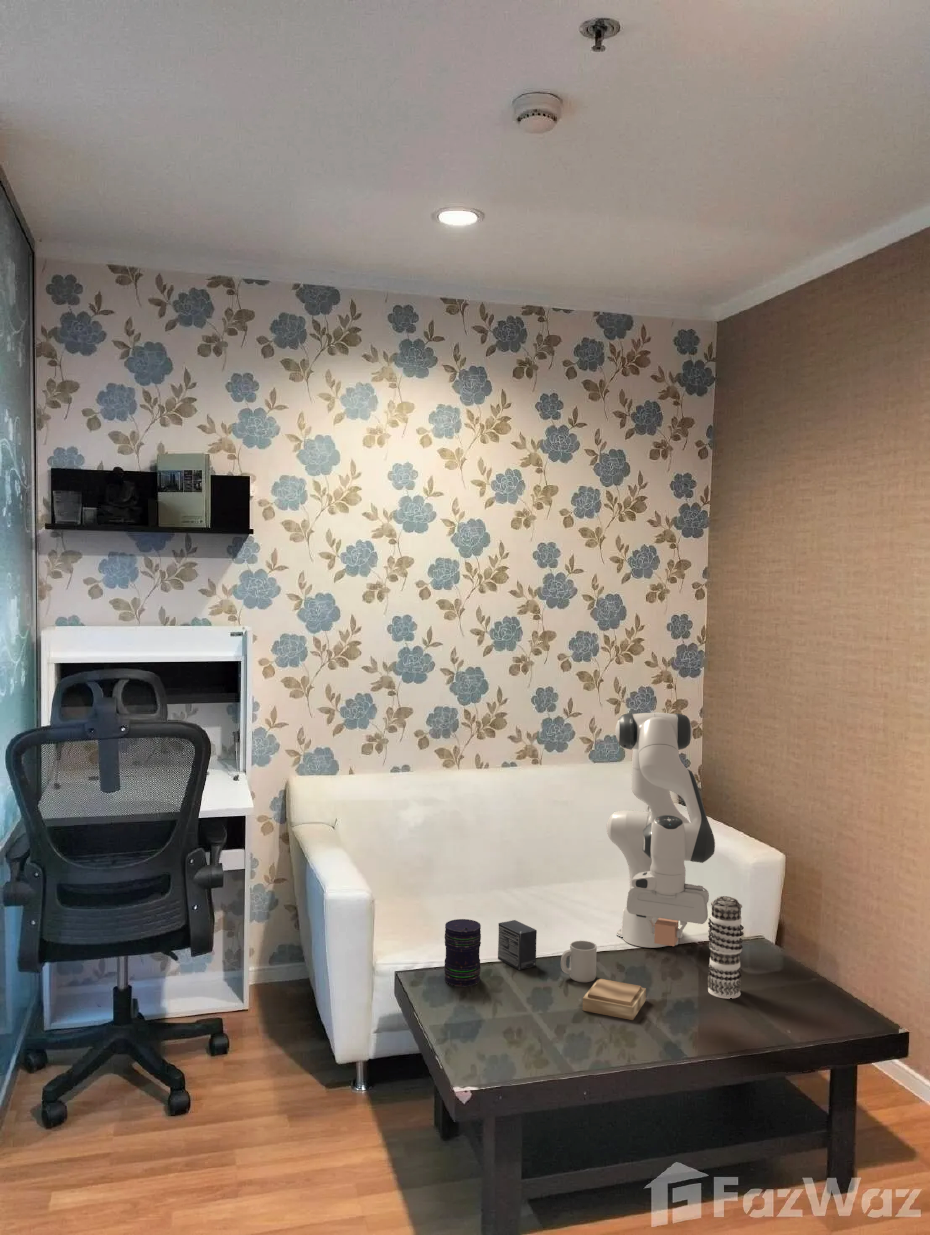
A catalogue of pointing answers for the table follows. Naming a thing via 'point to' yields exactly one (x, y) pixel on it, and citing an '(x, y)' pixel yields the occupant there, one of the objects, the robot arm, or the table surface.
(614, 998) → the plinth
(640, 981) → the table surface
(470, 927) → the storage jar
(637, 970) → the table surface
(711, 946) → the decorative candle
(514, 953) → the small box
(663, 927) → the cube
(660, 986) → the table surface
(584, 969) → the cup
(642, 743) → the robot arm
